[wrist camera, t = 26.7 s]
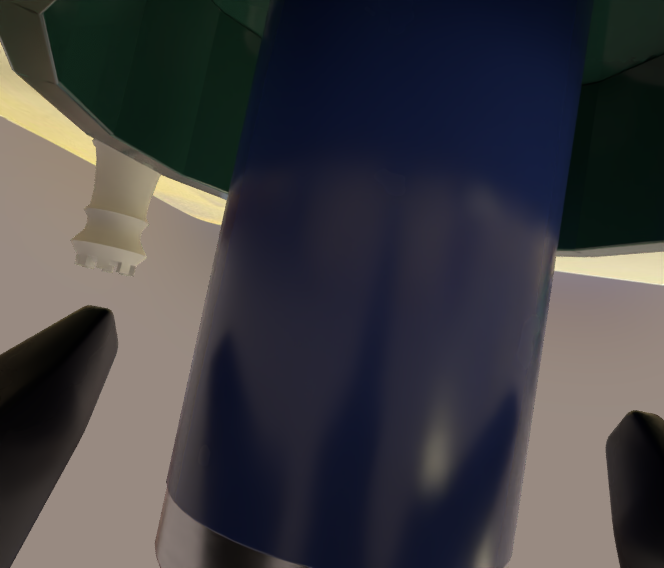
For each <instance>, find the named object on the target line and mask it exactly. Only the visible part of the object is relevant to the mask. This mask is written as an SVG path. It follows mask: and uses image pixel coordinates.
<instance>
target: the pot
mask: <svg viewBox="0 0 664 568" xmlns="http://www.w3.org/2000/svg"><path fill="white" fill-rule="evenodd" d="M269 2H270V0H0V42H1V44H2V47H3V49H4V51H5V54H6V56H7V59H8V61H9V64H10V66H11V68H12V70H13V71H14V72H15V73H16V74H17V75H18V76H19V77H20V78H22V79H23V80H24V81H25V82H26V83H27V84H29V85H30V86H31V87H32V88H33V89H34V90H36V91H37V92H38V93H39V94H40V95H41V96H43V97H44V98H45V99H46V100H47V101H48V102H50V103H51V104H52V105H53V106H54V107H55V108H57V109H58V110H59V111H60V112H61V113H62V114H64V115H65V116H66V117H67V118H68V119H69V120H71V121H72V122H73V123H74V124H75V125H76V126H78V127H79V128H80V129H81V130H82V131H84V132H85V133H86V134H87V135H89V136H91V137H93V138H94V139H96V140H98V141H100V142H102V143H104V144H106V145H107V146H109V147H111V148H113V149H115V150H117V151H119V152H120V153H122V154H124V155H126V156H128V157H130V158H132V159H133V160H135V161H137V162H139V163H141V164H143V165H145V166H146V167H148V168H150V169H152V170H154V171H156V172H157V173H159V174H161V175H163V176H166V177H168V178H170V179H173V180H176V181H178V182H181V183H183V184H186V185H189V186H191V187H194V188H197V189H199V190H202V191H204V192H207V193H210V194H212V195H215V196H218V197H220V198H223V199H225V200H227V197H228V193H229V188H230V183H231V179H232V174H233V169H234V165H235V160H236V155H237V151H238V146H239V142H240V137H241V132H242V128H243V123H244V118H245V114H246V109H247V104H248V100H249V95H250V90H251V86H252V81H253V76H254V72H255V67H256V63H257V58H258V53H259V49H260V44H261V39H262V35H263V30H264V25H265V21H266V16H267V11H268V7H269ZM662 251H664V0H594V4H593V11H592V18H591V24H590V31H589V38H588V45H587V51H586V58H585V65H584V72H583V78H582V85H581V92H580V99H579V105H578V112H577V119H576V126H575V132H574V139H573V146H572V153H571V159H570V166H569V173H568V180H567V186H566V193H565V200H564V207H563V213H562V220H561V227H560V234H559V240H558V247H557V254H556V256H561V257H600V256H612V255H625V254H637V253H650V252H662Z"/></svg>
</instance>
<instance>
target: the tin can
mask: <svg viewBox="0 0 664 568" xmlns="http://www.w3.org/2000/svg"><path fill="white" fill-rule="evenodd" d="M593 4H594V0H270V2H269V7H268V11H267V16H266V21H265V25H264V30H263V35H262V39H261V44H260V49H259V53H258V58H257V63H256V67H255V72H254V76H253V81H252V86H251V90H250V95H249V100H248V104H247V109H246V114H245V118H244V123H243V128H242V132H241V137H240V142H239V146H238V151H237V155H236V160H235V165H234V169H233V174H232V179H231V183H230V188H229V193H228V197H227V202H226V207H225V211H224V216H223V221H222V225H221V230H220V234H219V240H218V244H217V248H216V253H215V258H214V263H213V268H212V272H211V276H210V281H209V286H208V290H207V295H206V300H205V304H204V309H203V313H202V318H201V323H200V327H199V332H198V337H197V341H196V346H195V351H194V355H193V360H192V365H191V370H190V374H189V379H188V383H187V388H186V392H185V397H184V402H183V406H182V411H181V416H180V420H179V425H178V430H177V434H176V439H175V444H174V448H173V453H172V458H171V462H170V467H169V472H168V476H167V481H166V483H167V489H166V494H165V499H164V503H163V508H162V512H161V517H160V522H159V527H158V531H157V536H156V540H155V550H156V557H157V560H158V563H159V566H160V568H508V565H509V561H510V558H511V555H512V550H513V544H514V536H515V530H516V523H517V517H518V510H519V503H520V497H521V489H522V483H523V476H524V470H525V463H526V455H527V449H528V442H529V436H530V429H531V422H532V415H533V409H534V402H535V395H536V389H537V382H538V375H539V368H540V361H541V355H542V347H543V341H544V335H545V327H546V321H547V314H548V308H549V301H550V293H551V287H552V281H553V274H554V267H555V261H556V254H557V247H558V240H559V234H560V227H561V220H562V213H563V207H564V200H565V193H566V186H567V180H568V173H569V166H570V159H571V153H572V146H573V139H574V132H575V126H576V119H577V112H578V105H579V99H580V92H581V85H582V78H583V72H584V65H585V58H586V51H587V45H588V38H589V31H590V24H591V18H592V11H593Z"/></svg>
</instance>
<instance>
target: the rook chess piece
mask: <svg viewBox="0 0 664 568" xmlns="http://www.w3.org/2000/svg"><path fill="white" fill-rule="evenodd" d="M92 141H93V144H94V146H95V147H96V157H97V161H96V172H95V184H94V190H93V195H92V199H91V203H90V204H89V205H88V206H87V207H85V208H84V210H85V212H86V214H87V216H88V217H87V224H86V226H85V229H83V230H82V231H81V232H80V233H79V234H77V235H76V236H75V237H74V238H72V239H71V243H72V245H73V247H74V249H75V251H76V253H77V255H76V259H75V264H76V265H80V266H83V267H87V268H91V269H94V267H95V263H96V262H97V265H96V267H97V268H101V269H102V271H105V272H110V273H113V269H114V266H116V267H117V270H116V272H119V274H121V275H126V276H134V273H135V269H136V266H138V265H139V264H140V263H141V262H142V261H144V260H145V259H146V258H147V257H146V254H145V252H144V250H143V247H142V245H141V243H140V238H141V234H142V231H143V230H144V229H145V228H146V227H148V226H149V223H148V221H147V219H146V215H147V211H148V207H149V203H150V200H151V198H152V195H153V192H154V190H155V187H156V185H157V182H158V180H159V177H160V176H161V174H159V173H157V172H156V171H154V170H152V169H150V168H148V167H146V166H145V165H143V164H141V163H139V162H137V161H135V160H133V159H132V158H130V157H128V156H126V155H124V154H122V153H120V152H119V151H117V150H115V149H113V148H111V147H109V146H107V145H106V144H104V143H102V142H100V141H98V140H96V139H93V140H92Z"/></svg>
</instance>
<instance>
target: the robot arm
mask: <svg viewBox="0 0 664 568" xmlns="http://www.w3.org/2000/svg"><path fill="white" fill-rule="evenodd" d="M117 349H118V338H117V332H116V326H115V320H114V315H113V313H112V311H111V310H110V309H108V308H102V307H97V306H92V305H87V306H84V307H82V308H80V309H79V310H77V311H75V312H73V313H72V314H70V315H68V316H67V317H65V318H63V319H61V320H60V321H58V322H56V323H54V324H53V325H51V326H49V327H48V328H46V329H44V330H42V331H41V332H39V333H37V334H35V335H34V336H32V337H30V338H28V339H27V340H25V341H23V342H22V343H20V344H18V345H16V346H15V347H13V348H11V349H9V350H8V351H6V352H4V353H3V354H1V355H0V568H10V567H11V565H12V563H13V561H14V559H15V558H16V556H17V554H18V552H19V550H20V549H21V547H22V545H23V543H24V541H25V539H26V538H27V536H28V534H29V532H30V530H31V528H32V527H33V525H34V523H35V521H36V520H37V518H38V516H39V514H40V512H41V510H42V509H43V507H44V505H45V503H46V501H47V499H48V498H49V496H50V494H51V492H52V490H53V489H54V487H55V485H56V483H57V481H58V479H59V477H60V476H61V474H62V472H63V470H64V469H65V467H66V465H67V463H68V461H69V459H70V458H71V456H72V454H73V452H74V450H75V448H76V447H77V445H78V443H79V441H80V439H81V437H82V435H83V433H84V431H85V429H86V427H87V424H88V422H89V420H90V417H91V415H92V412H93V410H94V407H95V405H96V403H97V400H98V398H99V395H100V393H101V390H102V388H103V386H104V383H105V381H106V378H107V376H108V373H109V371H110V368H111V366H112V364H113V361H114V358H115V356H116V353H117ZM606 459H607V470H608V480H609V491H610V502H611V512H612V522H613V530H614V537H615V543H616V548H617V553H618V558H619V563H620V568H664V420H663V419H662V418H660V417H659V416H658V415H656V414H652V413H647V412H642V411H637V410H633V411H631V412H629V413H628V414H627V415H626V416H625V417H624V418H623V419H622V421H621V422H620V423H619V424H618V426H617V427H616V428H615V429H614V430H613V432H612V433H611V434H610V436H609V437H608V439H607V443H606Z"/></svg>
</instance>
